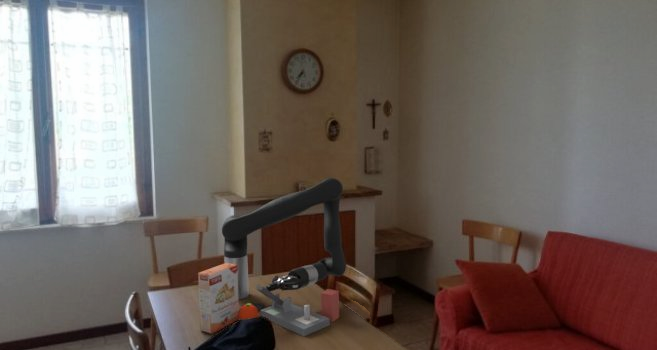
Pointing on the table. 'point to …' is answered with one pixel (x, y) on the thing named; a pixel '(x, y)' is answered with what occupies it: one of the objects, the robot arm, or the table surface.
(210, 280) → the cracker box
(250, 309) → the clementine
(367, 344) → the table surface
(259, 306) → the phone
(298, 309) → the grey mounting base plate
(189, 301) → the table surface
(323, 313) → the red tall block
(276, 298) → the breaker lever
